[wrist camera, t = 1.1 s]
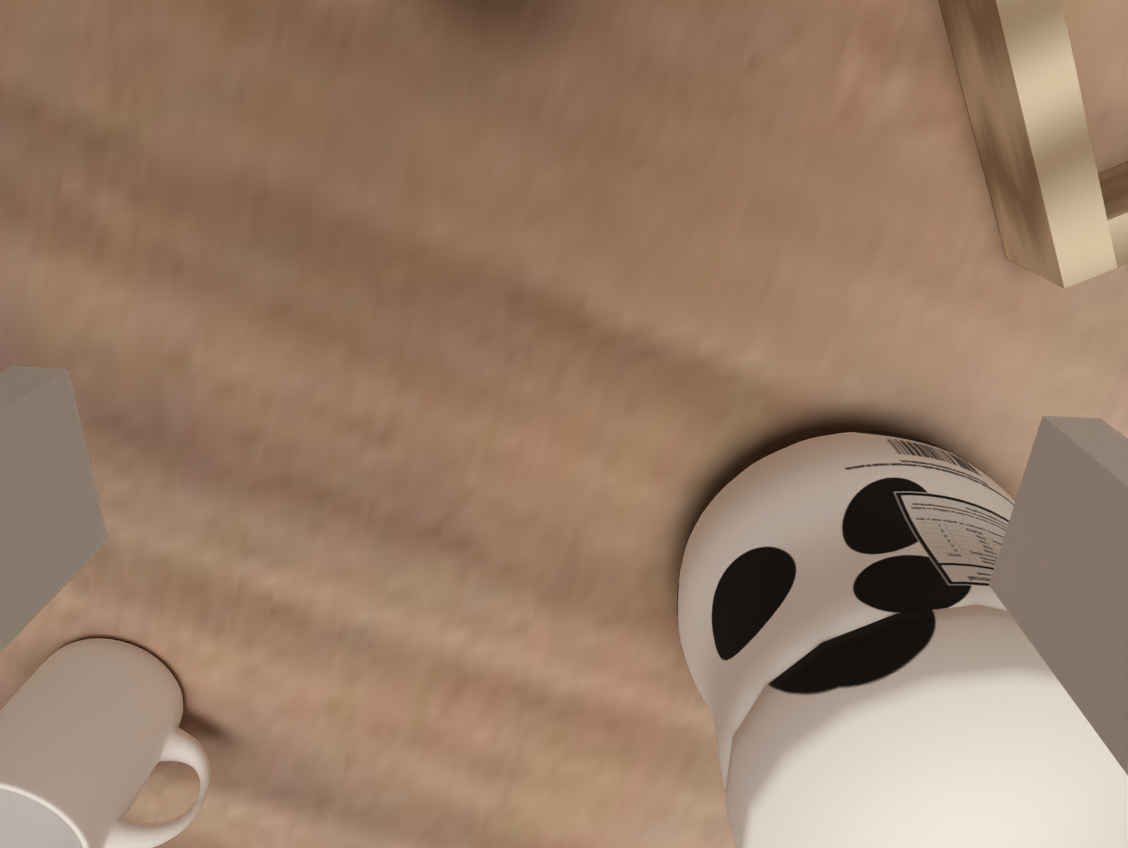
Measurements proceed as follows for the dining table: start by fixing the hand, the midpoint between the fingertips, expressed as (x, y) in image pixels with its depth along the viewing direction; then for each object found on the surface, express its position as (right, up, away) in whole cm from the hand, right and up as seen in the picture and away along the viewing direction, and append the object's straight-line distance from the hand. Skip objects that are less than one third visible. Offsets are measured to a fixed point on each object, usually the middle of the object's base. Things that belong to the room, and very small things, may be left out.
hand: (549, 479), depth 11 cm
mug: (-25, -16, +39) cm, 49 cm away
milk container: (+15, -6, +33) cm, 36 cm away
